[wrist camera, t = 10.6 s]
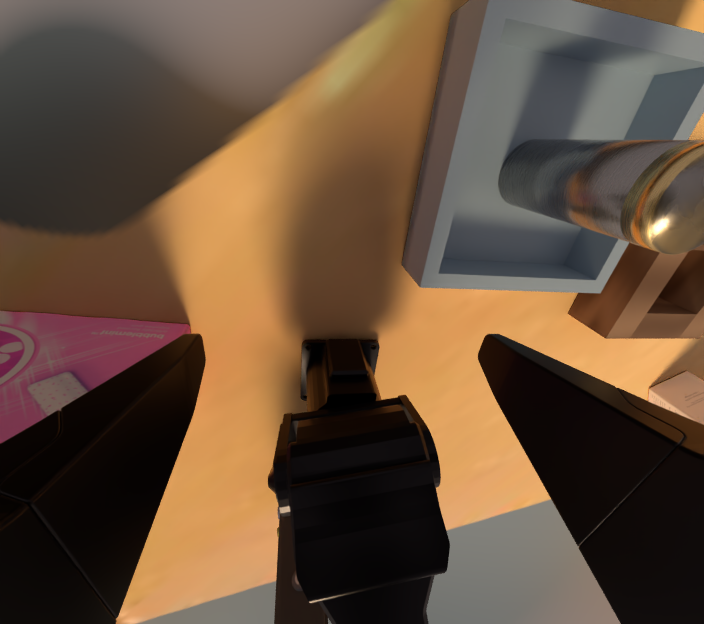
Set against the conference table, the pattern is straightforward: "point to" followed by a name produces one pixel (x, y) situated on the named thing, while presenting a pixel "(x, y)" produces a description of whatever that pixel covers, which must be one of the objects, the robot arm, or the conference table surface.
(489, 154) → the tray
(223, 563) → the conference table surface
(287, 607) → the card reader
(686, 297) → the socket block
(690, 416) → the ink cartridge box
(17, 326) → the gum box
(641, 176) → the steel pin
